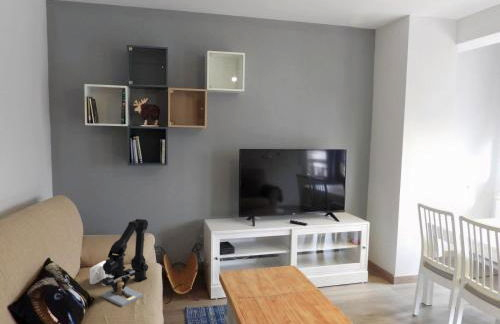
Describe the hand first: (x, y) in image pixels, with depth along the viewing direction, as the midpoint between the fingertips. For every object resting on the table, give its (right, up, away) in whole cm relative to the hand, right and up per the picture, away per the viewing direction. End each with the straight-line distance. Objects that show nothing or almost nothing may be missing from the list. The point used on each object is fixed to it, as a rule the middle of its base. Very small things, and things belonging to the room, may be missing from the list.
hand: (119, 290), depth 203 cm
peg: (0, -3, 0) cm, 3 cm away
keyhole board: (+2, -3, -1) cm, 4 cm away
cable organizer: (-16, -1, +17) cm, 23 cm away
